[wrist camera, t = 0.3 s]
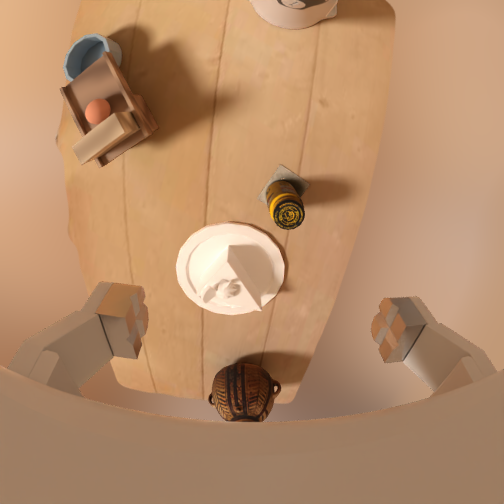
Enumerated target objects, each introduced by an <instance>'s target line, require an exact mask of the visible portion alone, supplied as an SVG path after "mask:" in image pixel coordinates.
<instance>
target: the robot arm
mask: <svg viewBox="0 0 504 504" xmlns="http://www.w3.org/2000/svg"><path fill="white" fill-rule="evenodd" d="M249 1H250V2H251V4H252V5H253V7H254V9H255V11H256V12H257V13H258V15H259V16H260V17H262V18H263V19H264V20H266V21H267V22H269V23H271V24H273V25H275V26H278V27H282V28H287V29H302V28H307V27H310V26H312V25H314V24H316V23H317V22H319V21H320V20H322V19H328V18H333V17H335V16H336V14H337V2H338V0H249ZM144 299H145V292H144V288H143V287H142V286H136V285H128V284H121V283H112V282H104V281H102V282H99V283H98V285H97V286H96V288H95V289H94V291H93V292H92V294H91V295H90V297H89V298H88V300H87V302H86V303H85V305H84V306H83V308H82V309H81V311H75V312H73V313H72V314H70V315H68V316H66V317H64V318H63V319H61V320H59V321H57V322H56V323H54V324H52V325H50V326H49V327H47V328H45V329H43V330H42V331H40V332H38V333H36V334H35V335H33V336H31V337H30V338H28V339H26V340H25V341H23V343H22V344H21V346H20V348H19V349H18V351H17V352H16V354H15V356H14V357H13V359H12V361H11V363H10V364H9V366H8V368H5V367H3V366H1V365H0V504H504V369H503V370H501V371H499V372H497V371H496V369H495V367H494V366H493V364H492V363H491V361H490V360H489V358H488V357H487V355H486V354H485V352H484V351H483V350H482V349H480V348H479V347H477V346H476V345H474V344H473V343H471V342H470V341H468V340H467V339H465V338H463V337H462V336H460V335H459V334H457V333H456V332H454V331H453V330H451V329H449V328H448V327H446V326H445V325H443V324H442V323H438V322H437V321H436V320H435V318H434V317H433V316H432V314H431V312H430V311H429V310H428V308H427V307H426V306H425V304H424V303H423V302H422V300H421V299H420V298H419V297H417V296H416V297H405V298H404V297H403V298H384V299H383V300H382V301H381V303H380V305H379V309H380V312H379V313H378V314H377V315H376V316H374V319H373V322H372V326H371V332H372V337H373V339H374V341H375V342H377V343H378V344H379V345H380V347H379V352H380V354H381V356H382V358H383V361H384V363H392V362H400V361H403V363H404V364H405V365H406V366H407V367H409V368H410V369H411V370H412V371H413V372H414V373H415V374H416V375H417V376H418V377H419V378H420V379H421V380H422V381H423V382H425V383H426V384H427V385H428V386H429V387H430V388H431V389H432V390H433V391H434V393H433V394H432V395H431V396H430V397H429V398H427V399H423V400H419V401H416V402H412V403H408V404H404V405H400V406H396V407H391V408H387V409H382V410H377V411H372V412H367V413H360V414H354V415H348V416H341V417H333V418H325V419H315V420H302V421H284V422H228V421H211V420H198V419H188V418H179V417H172V416H164V415H158V414H152V413H146V412H140V411H136V410H131V409H126V408H121V407H116V406H113V405H109V404H105V403H101V402H97V401H93V400H90V399H86V398H85V397H84V396H83V394H82V393H81V391H80V390H79V388H80V387H81V386H82V385H83V384H84V383H85V382H86V381H87V380H89V379H90V378H91V377H92V376H93V375H94V374H95V373H96V372H98V371H99V370H100V369H101V368H102V367H103V366H104V365H105V364H106V363H108V362H109V361H110V360H111V359H112V358H113V356H117V357H124V358H131V359H137V358H138V355H139V352H140V349H141V346H142V342H141V337H143V336H144V335H145V334H146V331H147V328H148V309H147V306H146V305H145V304H144V303H143V301H144Z"/></svg>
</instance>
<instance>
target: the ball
mask: <svg viewBox="0 0 504 504" xmlns="http://www.w3.org/2000/svg"><path fill="white" fill-rule="evenodd" d="M110 111H111V108H110V105H109V103H108V102H107V101H106V100H104V99H95V100H93V101H92V102H90V103H89V104H88V106H87V108H86V111H85V116H86V119H87V120H88V121H89V122H90V123H92V124H100V123H101V122H103V121H104V120H105V119H107V118H108V117H109V115H110Z"/></svg>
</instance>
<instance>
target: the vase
mask: <svg viewBox="0 0 504 504" xmlns="http://www.w3.org/2000/svg"><path fill="white" fill-rule="evenodd" d="M274 386H277V387H278V389H277V391H276V392H274ZM280 391H281V385H280V383H279V382H278V381H276V380H273V379H272V378H271V377H270V375H269V374H268V373H267V372H266V371H265V370H264V369H263V368H261V367H259V366H257V365H254V364H248V363H240V364H233V365H229V366H226V367H224V368H223V369H221V370H220V371H219V372H218V373H217V374H216V376H215V378H214V381H213V386H212V393H211V394H210V395H209V398H208V400H209V403H210V404H211V406H212V407H214V408H216V409H217V411H218V413H219V414H220V416H221V417H222V418H223V419H224V420H225V421H228V422H263V421H264V420H265V419H266V418H267V416H268V415H269V413H270V411H271V409H272V407H273V403H274V399H275V398H276V397H277V396H278V394H279V393H280ZM212 397H213V401H214V403H212V401H211V400H212Z"/></svg>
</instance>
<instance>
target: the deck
mask: <svg viewBox="0 0 504 504" xmlns="http://www.w3.org/2000/svg"><path fill="white" fill-rule="evenodd" d="M102 54H103V56H102V57H101V58H99V59H98V60H97V61H95V62H94V63H93V64H92V65H90V66H89V67H88V68H87V69H86V70H84V71H83V72H82V73H81V74H80V75H78V76H77V77H76V78H75V79H74V80H73V81H72V82H70V83H69V84H68V85H67V86H66V87H61V88H60V91H61V94H62V96H63V98H64V100H65V102H66V104H67V107H68V109H69V111H70V113H71V115H72V117H73V119H74V121H75V123H76V125H77V127H78V129H79V131H80V133H81V135H82V137H84V136H85V135H86V134H88V133H89V132H90V131H91V130H92V129H94V128H95V127H96V126H97V125H99V124H92V123H90V122H89V121H88V120H87V119H86V116H85V111H86V108H87V106H88V104H89V103H90V102H92V101H93V100H95V99H104V100H106V101H107V102H108V103H109V105H110V108H111V111H110V115H109V116H111V115H112V114H113V113H118V112H129V111H132V113H133V115H134V117H135V119H136V121H137V123H138V124H139V126H140V128H141V129H140V130H138V131H136V132H135V133H133V134H132V135H130V136H129V137H127V138H126V139H125V140H123V141H122V142H120V143H119V144H117V145H116V146H115V147H113V148H112V149H110V150H109V151H108V152H106V153H105V154H104V155H102V156H101V157H98V158H96V159H94V160H95V161H96V163H97V165H98V167H99V168H101V167H103V166H105V165H107V164H108V163H109V162H111V161H112V160H114V159H115V158H116V157H118V156H119V155H121V154H122V153H124V152H125V151H127V150H128V149H130V148H131V147H133V146H134V145H136V144H137V143H139V142H140V141H142V140H143V139H145V138H147V137H148V136H150V135H151V134H153V131H155V130H156V129H158V128H159V127H158V125H157V123H156V122H155V120H154V118H153V116H152V114H151V112H150V110H149V108H148V107H147V105H146V103H145V101H144V99H143V97H142V95H135V94H132V92H131V90H130V88H129V86H128V84H127V82H126V81H125V79H124V77H123V75H122V73H121V71H120V69H119V67H118V65H117V63H116V61H115V59H114V57H113V55H112V53H109V52H106V51H104V52H103V53H102Z"/></svg>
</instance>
